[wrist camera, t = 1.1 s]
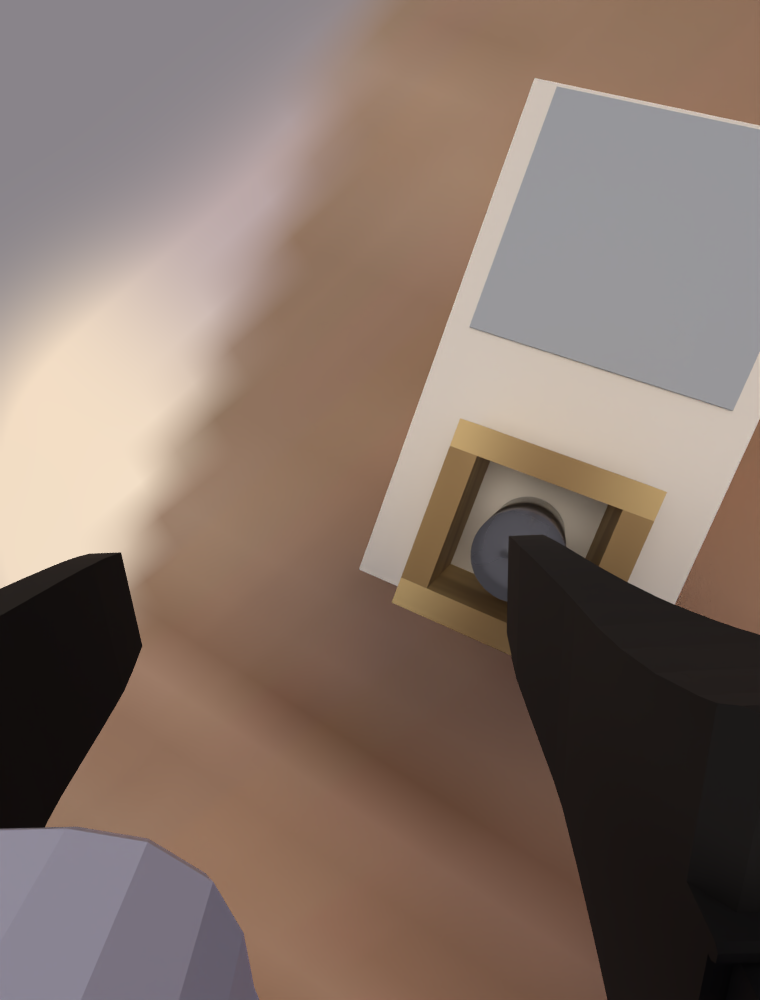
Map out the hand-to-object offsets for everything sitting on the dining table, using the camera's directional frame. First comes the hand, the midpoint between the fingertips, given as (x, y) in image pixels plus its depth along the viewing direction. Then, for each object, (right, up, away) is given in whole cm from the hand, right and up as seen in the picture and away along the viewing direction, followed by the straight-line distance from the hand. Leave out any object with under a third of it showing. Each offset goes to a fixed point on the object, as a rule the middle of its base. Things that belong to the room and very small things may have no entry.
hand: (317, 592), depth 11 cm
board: (+8, +5, +9) cm, 13 cm away
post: (+6, +1, +10) cm, 12 cm away
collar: (+6, +1, +9) cm, 11 cm away
